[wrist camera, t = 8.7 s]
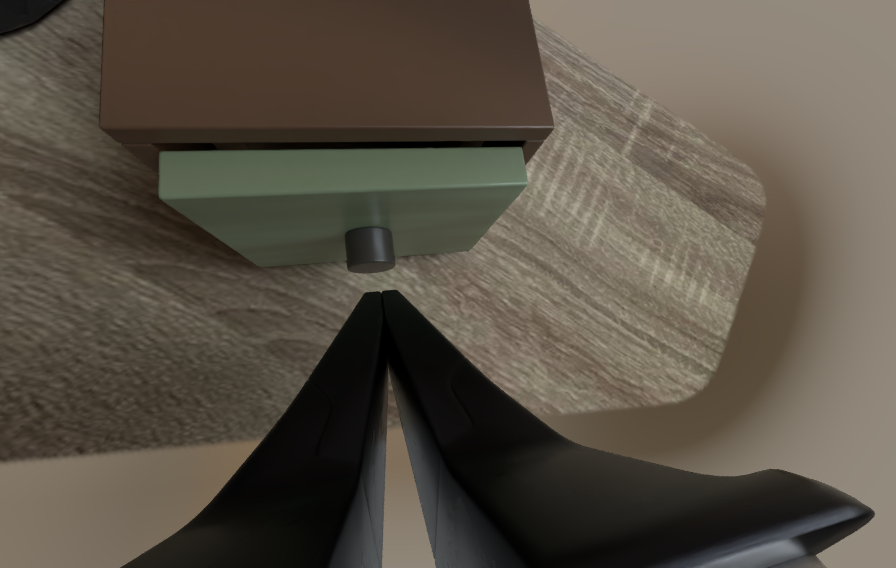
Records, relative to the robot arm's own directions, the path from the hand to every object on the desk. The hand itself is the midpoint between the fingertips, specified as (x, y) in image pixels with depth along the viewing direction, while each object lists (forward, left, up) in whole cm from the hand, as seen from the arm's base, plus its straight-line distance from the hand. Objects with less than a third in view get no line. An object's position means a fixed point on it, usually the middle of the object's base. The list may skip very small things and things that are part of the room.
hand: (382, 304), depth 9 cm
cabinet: (+7, +6, -6) cm, 11 cm away
